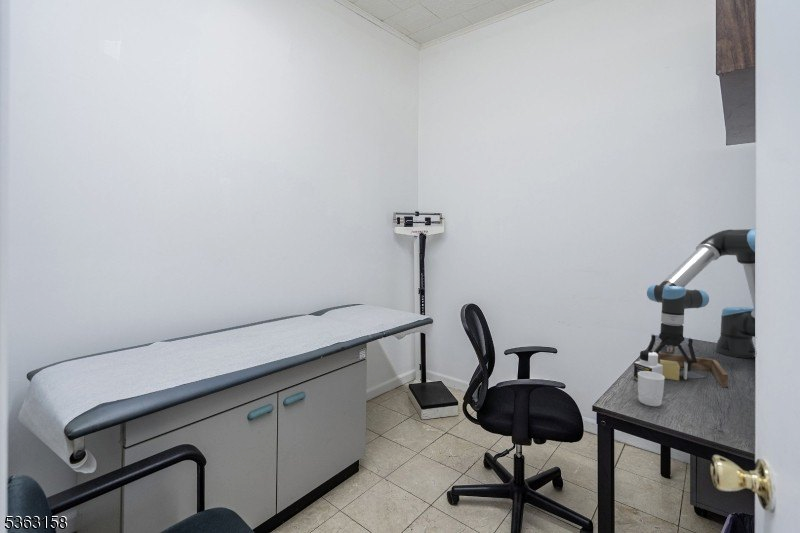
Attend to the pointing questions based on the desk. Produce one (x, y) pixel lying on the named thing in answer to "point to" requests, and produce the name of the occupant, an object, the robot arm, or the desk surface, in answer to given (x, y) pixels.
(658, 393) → the white cup
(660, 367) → the medicine bottle
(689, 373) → the mat
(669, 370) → the cube
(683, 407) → the desk surface
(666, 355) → the angled wooden barrier
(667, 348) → the pill bottle
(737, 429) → the desk surface
